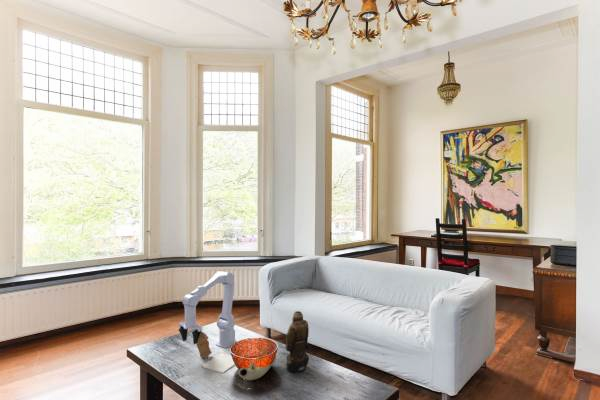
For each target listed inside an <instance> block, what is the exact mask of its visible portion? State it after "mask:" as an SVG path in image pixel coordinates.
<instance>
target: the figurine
mask: <svg viewBox="0 0 600 400" xmlns="http://www.w3.org/2000/svg"><path fill="white" fill-rule="evenodd" d="M208 339H209V336H208V335H207V334H206V333H205V332H204V331H202V332H201V333H200V335H199V338H198V342H197V343H196V344H195V345H196V347H197V349H198V353H199V356H200V358H201V359H202V358H206V359H207V358H208V357H209V356H210V355H211V354H212V351H211V347H210V342H209V340H208Z"/></svg>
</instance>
